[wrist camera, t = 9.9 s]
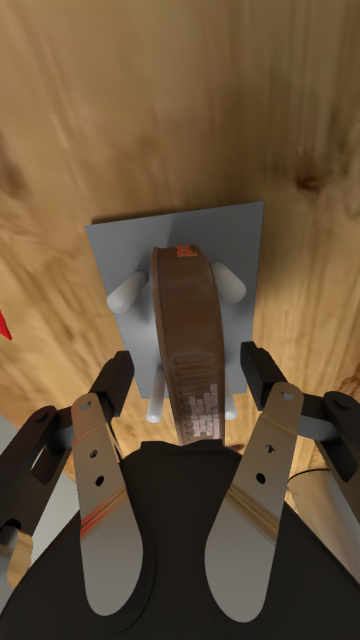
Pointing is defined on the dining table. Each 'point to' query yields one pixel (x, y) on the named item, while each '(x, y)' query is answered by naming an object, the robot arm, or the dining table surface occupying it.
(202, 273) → the tin
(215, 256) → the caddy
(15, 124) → the dining table surface
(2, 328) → the cloth
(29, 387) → the dining table surface
